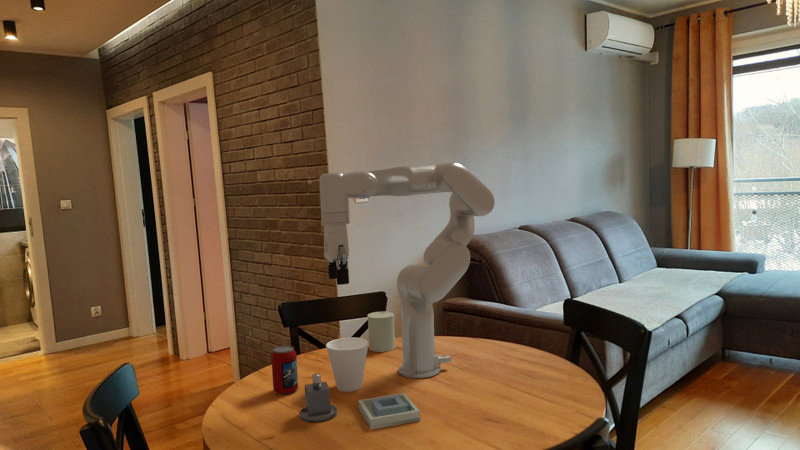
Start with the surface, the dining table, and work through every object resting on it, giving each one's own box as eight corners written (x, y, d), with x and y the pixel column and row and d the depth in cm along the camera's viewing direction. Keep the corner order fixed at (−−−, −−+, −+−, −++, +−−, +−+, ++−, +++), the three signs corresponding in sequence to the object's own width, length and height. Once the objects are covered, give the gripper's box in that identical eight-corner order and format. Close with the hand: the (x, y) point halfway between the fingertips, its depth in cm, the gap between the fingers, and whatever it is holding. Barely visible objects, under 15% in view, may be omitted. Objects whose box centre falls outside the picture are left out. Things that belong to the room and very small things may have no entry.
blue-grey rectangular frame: (371, 408, 137) (370, 399, 136) (404, 403, 139) (403, 393, 139) (378, 420, 130) (378, 410, 130) (413, 414, 132) (412, 404, 132)
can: (398, 344, 192) (397, 310, 191) (392, 352, 183) (390, 316, 182) (373, 343, 194) (371, 309, 193) (365, 351, 185) (363, 316, 184)
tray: (404, 402, 142) (404, 392, 142) (420, 420, 130) (419, 410, 130) (359, 409, 138) (358, 400, 138) (370, 429, 127) (370, 419, 127)
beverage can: (292, 396, 149) (290, 352, 148) (269, 395, 150) (266, 352, 149) (302, 387, 155) (299, 345, 154) (279, 386, 157) (277, 344, 156)
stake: (333, 404, 142) (331, 366, 141) (340, 418, 133) (337, 378, 133) (297, 410, 139) (295, 371, 138) (302, 425, 131) (300, 384, 130)
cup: (377, 381, 157) (375, 338, 156) (360, 397, 146) (358, 351, 145) (339, 377, 161) (337, 336, 160) (320, 393, 150) (318, 348, 149)
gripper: (315, 218, 157) (318, 277, 158) (328, 221, 140) (332, 288, 142) (341, 216, 159) (344, 275, 160) (357, 219, 143) (360, 285, 144)
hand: (338, 281), depth 151 cm, fingers open, 9 cm apart
